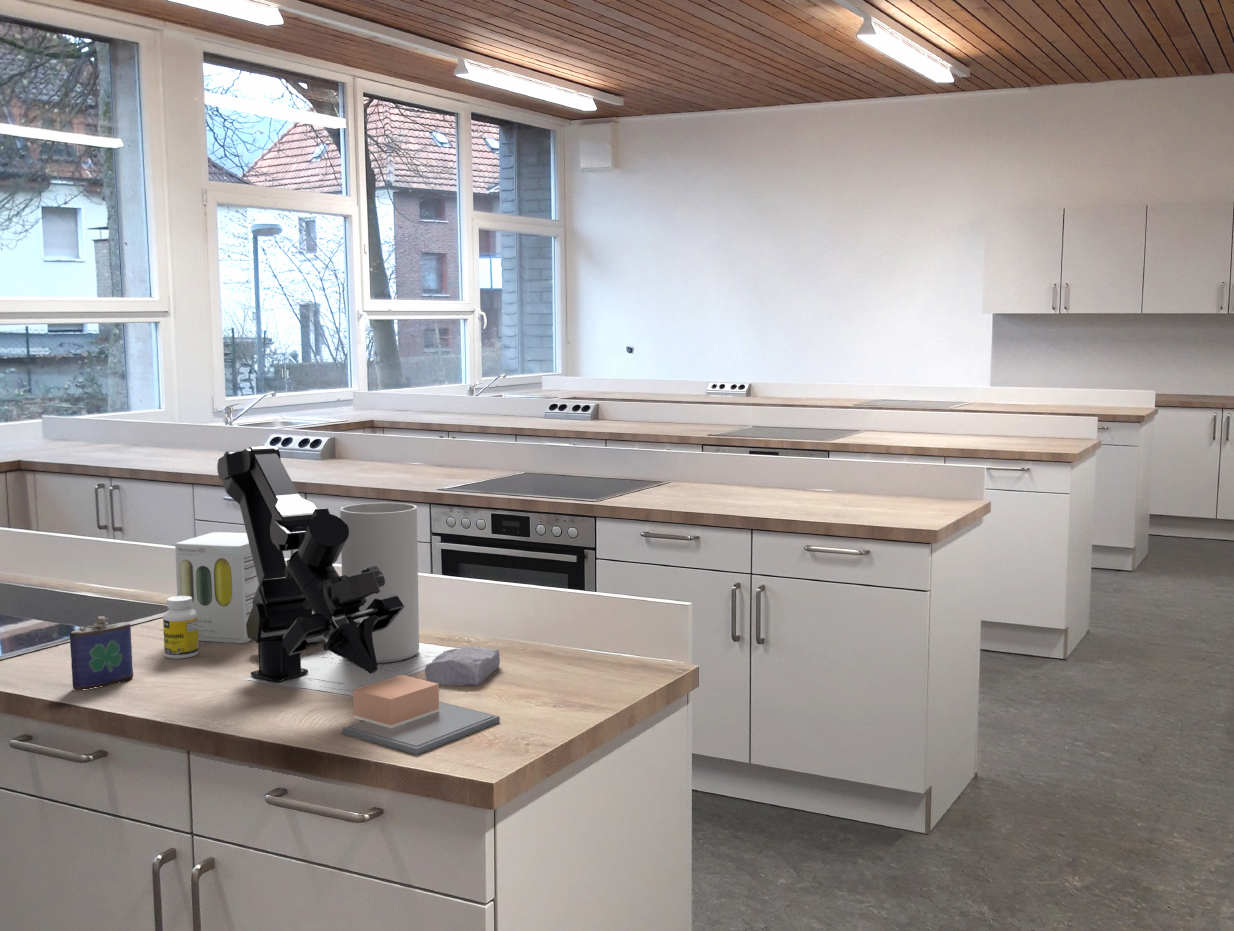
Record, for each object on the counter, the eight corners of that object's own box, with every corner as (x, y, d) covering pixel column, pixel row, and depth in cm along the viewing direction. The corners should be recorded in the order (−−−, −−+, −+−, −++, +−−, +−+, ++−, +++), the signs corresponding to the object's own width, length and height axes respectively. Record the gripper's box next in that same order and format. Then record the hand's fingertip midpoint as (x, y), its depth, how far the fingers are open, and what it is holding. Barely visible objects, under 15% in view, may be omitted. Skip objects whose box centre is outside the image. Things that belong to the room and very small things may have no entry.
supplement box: (176, 640, 207) (172, 542, 205) (217, 622, 220) (214, 530, 218) (244, 644, 204) (241, 545, 202) (281, 626, 217) (279, 533, 215)
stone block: (422, 695, 181) (482, 686, 179) (416, 665, 181) (476, 656, 179) (448, 677, 193) (505, 668, 190) (442, 648, 192) (500, 639, 190)
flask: (129, 676, 185) (125, 609, 183) (137, 679, 183) (134, 612, 181) (69, 689, 178) (65, 620, 177) (77, 693, 176) (74, 623, 175)
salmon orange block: (352, 689, 161) (390, 699, 156) (401, 674, 168) (438, 683, 164) (353, 717, 161) (391, 728, 157) (401, 701, 168) (439, 711, 164)
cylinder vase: (378, 641, 206) (375, 500, 203) (434, 650, 200) (432, 506, 197) (327, 657, 195) (324, 509, 193) (384, 668, 189) (381, 515, 186)
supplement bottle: (157, 657, 195) (155, 599, 194) (180, 649, 200) (178, 593, 199) (183, 660, 193) (180, 602, 192) (205, 652, 198) (203, 596, 197)
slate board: (342, 733, 158) (342, 726, 157) (427, 703, 170) (427, 697, 170) (416, 754, 149) (416, 748, 149) (499, 722, 162) (499, 715, 162)
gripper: (294, 560, 158) (351, 654, 153) (394, 540, 174) (449, 625, 169) (258, 608, 164) (312, 700, 159) (358, 585, 179) (411, 668, 174)
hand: (374, 671), depth 165 cm, fingers closed
